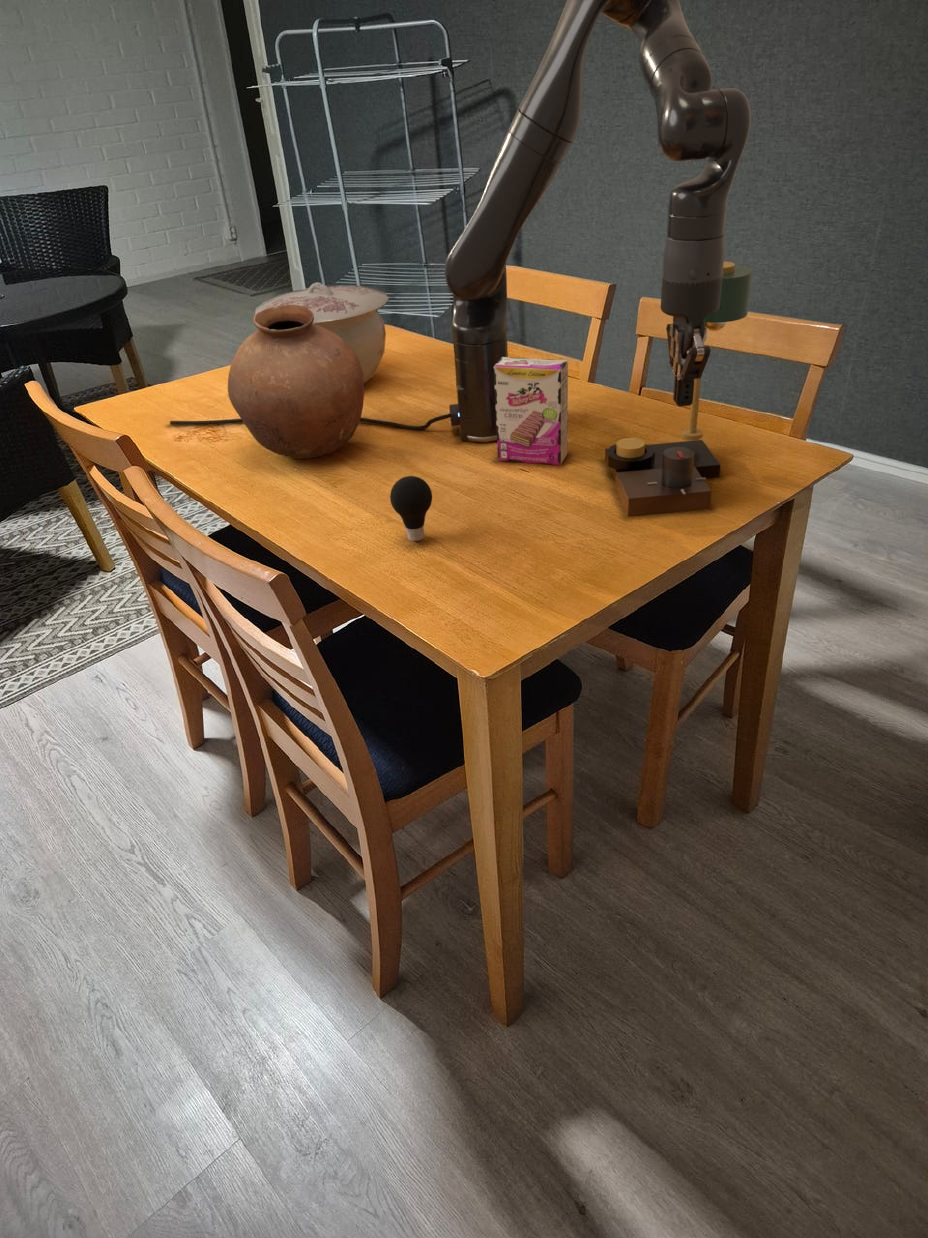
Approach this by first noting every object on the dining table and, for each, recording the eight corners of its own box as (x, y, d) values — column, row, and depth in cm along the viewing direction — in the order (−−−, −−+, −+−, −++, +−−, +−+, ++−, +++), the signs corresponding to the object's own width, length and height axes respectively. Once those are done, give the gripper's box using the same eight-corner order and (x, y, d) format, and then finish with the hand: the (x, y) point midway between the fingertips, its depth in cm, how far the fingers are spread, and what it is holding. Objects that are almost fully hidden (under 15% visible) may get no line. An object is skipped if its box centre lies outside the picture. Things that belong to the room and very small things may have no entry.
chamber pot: (392, 401, 171) (379, 294, 159) (258, 409, 172) (235, 304, 161) (402, 357, 194) (391, 261, 182) (284, 365, 195) (266, 270, 184)
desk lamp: (684, 448, 132) (698, 274, 117) (669, 427, 139) (680, 260, 125) (741, 443, 132) (762, 268, 117) (723, 422, 139) (741, 254, 125)
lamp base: (611, 487, 132) (612, 463, 129) (599, 461, 140) (600, 438, 138) (719, 477, 132) (721, 453, 130) (700, 452, 140) (702, 429, 138)
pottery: (307, 419, 166) (282, 285, 152) (398, 439, 154) (381, 296, 140) (218, 463, 151) (181, 320, 137) (311, 489, 139) (282, 335, 125)
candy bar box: (496, 462, 143) (491, 365, 133) (505, 450, 146) (501, 355, 137) (561, 467, 139) (561, 368, 130) (568, 454, 143) (568, 358, 134)
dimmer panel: (628, 517, 123) (629, 498, 121) (615, 490, 131) (615, 471, 129) (712, 510, 123) (714, 490, 122) (694, 482, 131) (696, 464, 129)
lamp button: (619, 460, 131) (619, 449, 130) (613, 449, 135) (613, 438, 134) (647, 457, 131) (648, 447, 130) (641, 446, 135) (641, 436, 134)
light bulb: (395, 533, 124) (387, 471, 119) (435, 529, 125) (429, 467, 119) (396, 553, 120) (387, 489, 114) (437, 549, 120) (431, 484, 114)
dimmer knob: (658, 475, 127) (660, 445, 124) (688, 473, 127) (690, 443, 124) (664, 488, 123) (666, 458, 121) (694, 486, 123) (697, 456, 120)
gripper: (738, 282, 103) (724, 418, 113) (706, 259, 114) (695, 385, 124) (677, 288, 103) (668, 423, 113) (650, 264, 114) (644, 389, 124)
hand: (682, 403), depth 118 cm, fingers closed
